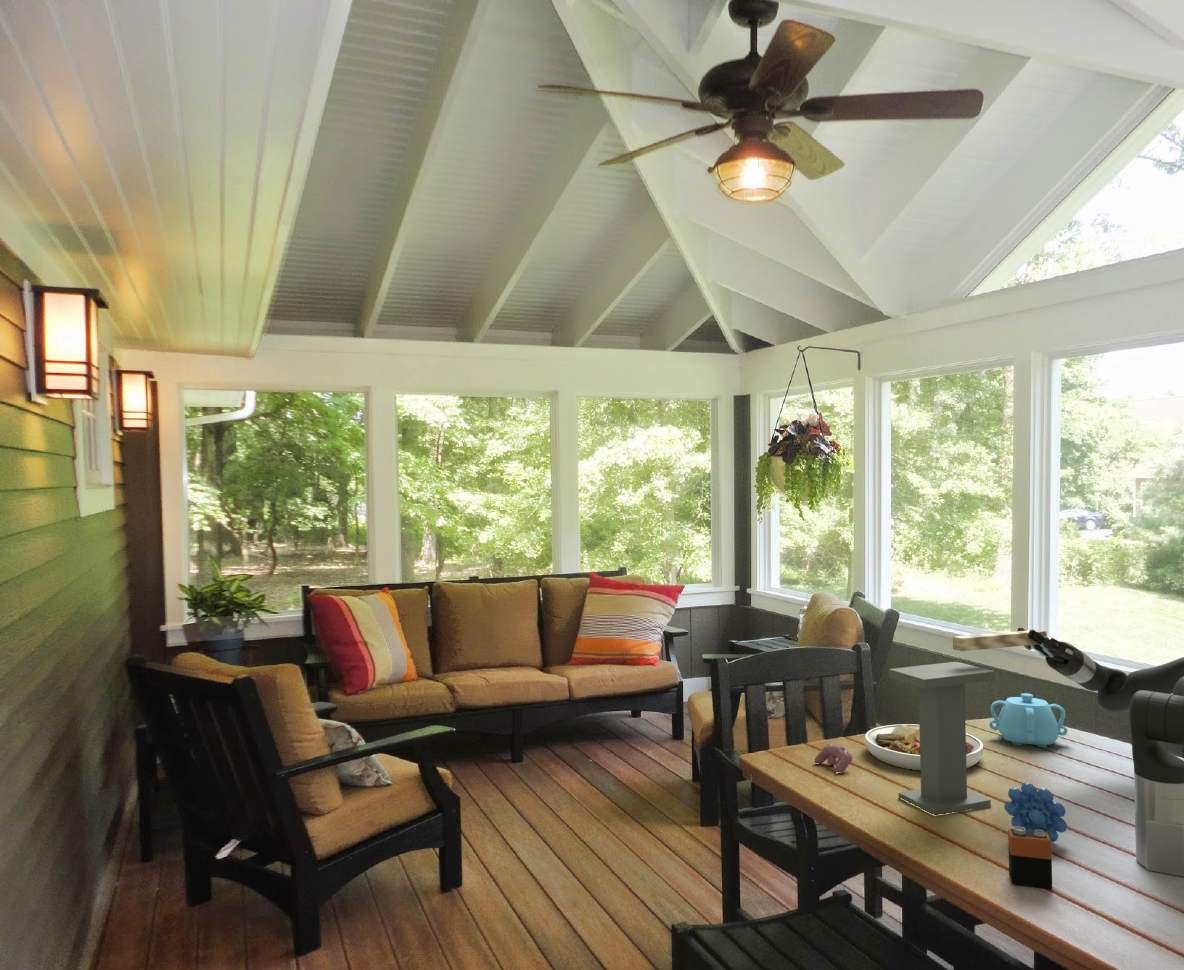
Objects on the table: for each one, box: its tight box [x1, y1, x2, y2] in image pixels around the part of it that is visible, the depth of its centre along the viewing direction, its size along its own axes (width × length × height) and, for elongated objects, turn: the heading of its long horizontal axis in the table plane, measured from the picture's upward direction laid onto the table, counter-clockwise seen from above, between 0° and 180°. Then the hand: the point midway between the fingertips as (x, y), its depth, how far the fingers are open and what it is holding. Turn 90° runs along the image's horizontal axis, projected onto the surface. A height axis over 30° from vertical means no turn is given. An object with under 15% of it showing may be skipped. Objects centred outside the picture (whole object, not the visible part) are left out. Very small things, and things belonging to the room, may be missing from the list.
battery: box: [1007, 826, 1053, 890], centre depth 160 cm, size 4×7×10 cm, turn 71°
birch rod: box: [952, 629, 1048, 652], centre depth 207 cm, size 26×3×3 cm, turn 109°
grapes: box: [1003, 782, 1068, 843], centre depth 177 cm, size 12×7×12 cm, turn 68°
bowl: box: [864, 723, 984, 772], centre depth 233 cm, size 30×30×8 cm
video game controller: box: [814, 743, 853, 773], centre depth 226 cm, size 10×5×7 cm, turn 23°
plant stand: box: [888, 661, 996, 815], centre depth 200 cm, size 20×12×31 cm, turn 110°
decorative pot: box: [989, 692, 1068, 748], centre depth 245 cm, size 16×16×14 cm
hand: (1024, 632), depth 210 cm, fingers closed on birch rod, 3 cm apart
